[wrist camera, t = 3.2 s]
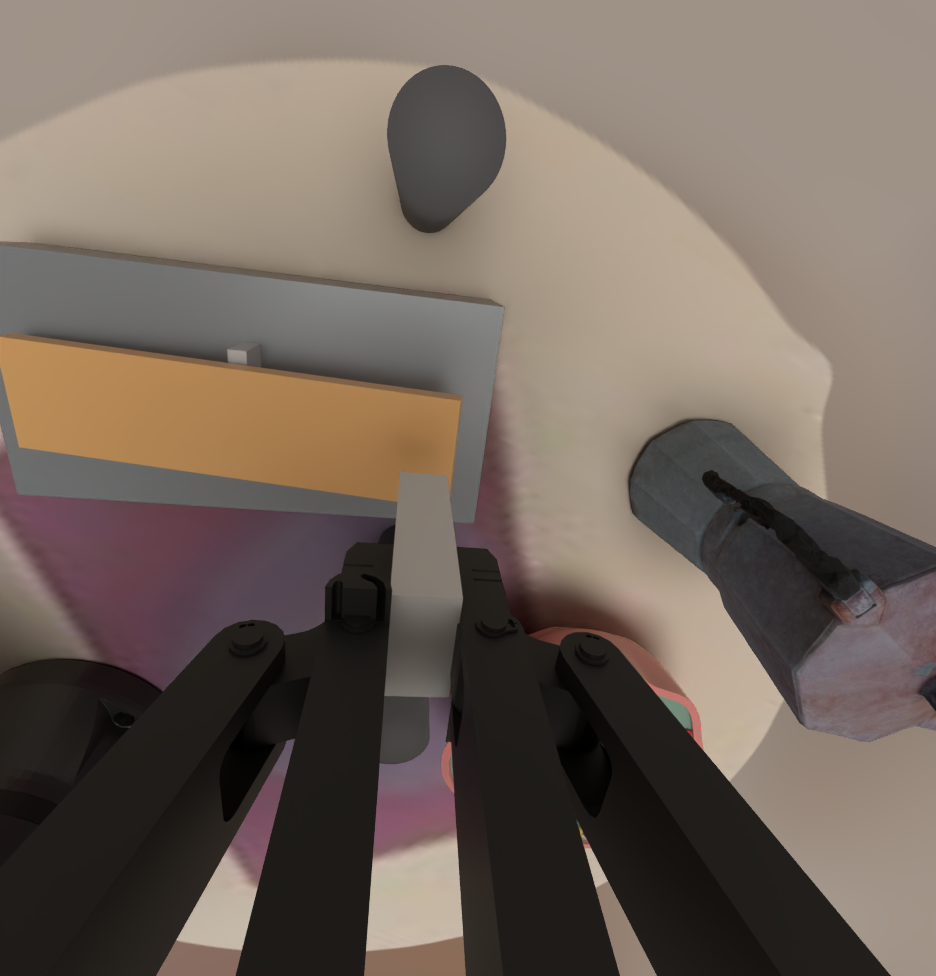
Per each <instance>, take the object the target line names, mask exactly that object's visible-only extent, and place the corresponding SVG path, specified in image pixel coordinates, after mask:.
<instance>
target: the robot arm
mask: <svg viewBox="0 0 936 976" xmlns="http://www.w3.org/2000/svg"><path fill="white" fill-rule="evenodd" d="M450 686H451V691H452V702H451V709H450V716H449V723H448V730H447V736H446V742H451V750H452V765H453V781H454V796H455V812H456V828H457V843H458V859H459V874H460V890H461V906H462V921H463V937H464V952H465V968H466V976H620V975H619V971H618V968H617V964H616V960H615V957H614V953H613V949H612V946H611V942H610V939H609V935H608V932H607V928H606V925H605V921H604V917H603V913H602V910H601V906H600V903H599V899H598V895H597V892H596V888H595V885H594V881H593V877H592V874H591V870H590V867H589V863H588V859H587V856H586V852H585V849H584V845H583V841H582V838H581V834H580V831H579V827H578V823H579V825H580V827H581V829H582V831H583V833H584V835H585V837H586V839H587V841H588V843H589V845H590V847H591V849H592V851H593V852H594V854H595V856H596V858H597V860H598V862H599V864H600V866H601V868H602V870H603V872H604V874H605V876H606V878H607V880H608V882H609V883H610V885H611V887H612V889H613V891H614V893H615V895H616V897H617V899H618V901H619V903H620V905H621V907H622V909H623V910H624V912H625V914H626V916H627V918H628V920H629V922H630V924H631V926H632V928H633V930H634V932H635V934H636V936H637V937H638V940H639V942H640V944H641V945H642V947H643V949H644V951H645V953H646V955H647V957H648V959H649V961H650V963H651V965H652V967H653V969H654V971H655V973H656V974H657V976H891V975H890V974H889V973H888V972H887V971H886V970H885V968H884V967H883V966H882V965H881V964H880V962H879V961H878V960H877V959H876V957H875V956H874V955H873V954H872V953H871V951H870V950H869V949H868V948H867V947H866V945H865V944H864V943H863V942H862V941H861V940H860V939H859V937H858V936H857V935H856V933H855V932H854V931H853V930H852V929H851V927H850V926H849V925H848V924H847V923H846V922H845V920H844V919H843V918H842V917H841V915H840V914H839V913H838V912H837V911H836V909H835V908H834V907H833V906H832V905H831V903H830V902H829V901H828V900H827V899H826V897H825V896H824V895H823V894H822V893H821V891H820V890H819V889H818V888H817V887H816V885H815V884H814V883H813V882H812V880H811V879H810V878H809V877H808V876H807V874H806V873H805V872H804V871H803V870H802V868H801V867H800V866H799V865H798V864H797V862H796V861H795V860H794V859H793V858H792V856H791V855H790V854H789V853H788V852H787V851H786V849H785V848H784V847H783V846H782V845H781V843H780V842H779V841H778V840H777V838H776V837H775V836H774V835H773V834H772V832H771V831H770V830H769V829H768V828H767V826H766V825H765V824H764V823H763V822H762V821H761V819H760V818H759V817H758V816H757V814H756V813H755V812H754V811H753V810H752V808H751V807H750V806H749V805H748V804H747V802H746V801H745V800H744V799H743V798H742V797H741V795H740V794H739V793H738V792H737V790H736V789H735V788H734V787H733V786H732V784H731V783H730V782H729V781H728V780H727V778H726V777H725V776H724V775H723V774H722V772H721V771H720V770H719V769H718V768H717V766H716V765H715V764H714V763H713V762H712V760H711V759H710V758H709V757H708V756H707V754H706V753H705V752H704V751H703V750H702V748H701V747H700V746H699V745H698V743H697V742H696V741H695V740H694V739H693V737H692V736H691V735H690V734H689V733H688V731H687V730H686V729H685V728H684V727H683V725H682V724H681V723H680V722H679V721H678V719H677V718H676V717H675V716H674V715H673V713H672V712H671V711H670V710H669V709H668V707H667V706H666V705H665V704H664V703H663V701H662V700H661V699H660V698H659V697H658V695H657V694H656V693H655V692H654V691H653V689H652V688H651V687H650V686H649V685H648V683H647V682H646V681H645V680H644V679H643V677H642V676H641V675H640V674H639V673H638V671H637V670H636V669H635V668H634V667H633V665H632V664H631V663H630V662H629V661H628V659H627V658H626V657H625V656H624V655H623V653H622V652H621V651H620V650H619V649H618V648H617V647H616V646H615V645H614V644H613V643H612V642H611V641H609V640H607V639H605V638H603V637H601V636H600V635H596V634H593V633H589V632H574V633H571V634H568V635H566V636H565V637H564V638H563V639H562V640H561V643H560V645H556V644H552V643H549V642H545V641H542V640H539V639H536V638H533V637H531V636H529V635H528V634H526V633H524V629H523V627H522V625H521V623H520V621H519V620H518V619H516V618H515V617H514V616H513V615H512V614H511V613H510V610H509V606H508V602H507V598H506V594H505V590H504V586H503V583H502V579H501V575H500V573H499V567H498V563H497V559H496V558H495V557H494V556H493V555H492V554H491V553H490V552H489V551H488V550H487V549H480V548H464V547H456V541H455V533H454V525H453V518H452V510H451V502H450V495H449V487H448V479H447V475H436V474H423V473H411V472H400V479H399V491H398V503H397V515H396V527H395V539H394V545H393V544H376V543H360V542H357V543H356V544H355V545H353V546H352V547H351V548H350V549H349V550H348V551H347V552H346V556H345V560H344V566H343V569H342V573H341V574H338V575H337V576H335V577H333V578H332V579H330V580H329V582H328V584H327V585H326V587H325V622H323V623H322V624H321V625H319V626H318V627H315V628H313V629H311V630H308V631H305V632H301V633H296V634H291V635H285V636H284V633H283V631H282V630H281V629H280V628H279V627H278V626H277V625H275V624H273V623H270V622H267V621H260V620H250V621H244V622H238V623H236V624H233V625H231V626H228V627H226V628H225V629H223V630H222V631H221V632H219V633H218V634H217V635H215V636H214V638H213V639H212V640H211V641H210V642H209V643H208V644H207V645H206V646H205V647H204V648H203V649H202V651H201V652H200V653H199V654H198V655H197V656H196V657H195V658H194V659H193V660H192V661H191V662H190V663H189V665H188V666H187V667H186V668H185V669H184V670H183V671H182V672H181V673H180V674H179V675H178V676H177V677H176V679H175V680H174V681H173V682H172V683H171V684H170V685H169V686H168V687H167V688H166V689H165V690H164V691H163V693H162V694H161V693H160V692H159V691H158V690H156V689H155V688H154V687H152V686H151V685H149V684H147V683H146V682H144V681H142V680H141V679H139V678H137V677H135V676H133V675H130V674H128V673H126V672H123V671H121V670H118V669H115V668H112V667H109V666H105V665H101V664H96V663H91V662H85V661H76V660H48V661H40V662H34V663H29V664H25V665H22V666H19V667H16V668H13V669H11V670H9V671H6V672H4V673H3V674H1V675H0V976H156V975H157V973H158V971H159V969H160V968H161V966H162V964H163V962H164V961H165V959H166V957H167V955H168V953H169V952H170V950H171V948H172V946H173V945H174V943H175V941H176V939H177V938H178V936H179V934H180V932H181V930H182V929H183V927H184V925H185V923H186V922H187V920H188V918H189V916H190V914H191V913H192V911H193V909H194V907H195V906H196V904H197V902H198V900H199V898H200V897H201V895H202V893H203V891H204V890H205V888H206V886H207V884H208V882H209V881H210V879H211V877H212V875H213V874H214V872H215V870H216V868H217V866H218V865H219V863H220V861H221V859H222V858H223V856H224V854H225V852H226V850H227V849H228V847H229V845H230V843H231V842H232V840H233V838H234V836H235V835H236V833H237V831H238V829H239V827H240V826H241V824H242V822H243V820H244V819H245V817H246V815H247V813H248V811H249V810H250V808H251V806H252V804H253V803H254V801H255V799H256V797H257V795H258V794H259V792H260V790H261V788H262V787H263V785H264V783H265V781H266V779H267V778H268V776H269V774H270V772H271V771H272V769H273V767H274V765H275V763H276V762H277V760H278V758H279V756H280V755H281V753H282V751H283V749H284V747H285V744H286V741H287V740H291V739H295V742H294V746H293V750H292V754H291V758H290V762H289V766H288V769H287V773H286V777H285V781H284V785H283V789H282V793H281V797H280V801H279V805H278V809H277V813H276V817H275V821H274V825H273V829H272V833H271V837H270V841H269V845H268V849H267V853H266V857H265V861H264V865H263V869H262V873H261V877H260V881H259V885H258V889H257V893H256V897H255V901H254V905H253V909H252V913H251V917H250V921H249V925H248V929H247V933H246V937H245V941H244V945H243V949H242V953H241V957H240V961H239V965H238V969H237V973H236V976H364V969H365V955H366V941H367V928H368V914H369V900H370V887H371V873H372V859H373V846H374V832H375V818H376V805H377V791H378V777H379V764H380V750H381V736H382V723H383V709H384V696H406V697H449V693H450ZM576 819H577V820H576ZM577 821H578V823H577Z"/></svg>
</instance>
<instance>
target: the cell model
mask: <svg viewBox="0 0 936 976" xmlns="http://www.w3.org/2000/svg"><path fill="white" fill-rule="evenodd" d="M574 632H589V633H593V634H596V635H600V636H601V637H603V638H605V639H607V640H609V641H611V642H612V643H613V644H614V645H615V646H616V647H617V648H618V649H619V650H620V651H621V652H622V653H623V655H624V656H625V657H626V658H627V659H628V661H629V662H630V663H631V664H632V665H633V667H634V668H635V669H636V670H637V671H638V673H639V674H640V675H641V676H642V677H643V679H644V680H645V681H646V682H647V683H648V685H649V686H650V687H651V688H652V689H653V691H654V692H655V693H656V694H657V695H658V697H659V698H660V699H661V700H662V701H663V703H664V704H665V705H666V706H667V707H668V709H669V710H670V711H671V712H672V713H673V715H674V716H675V717H676V718H677V719H678V721H679V722H680V723H681V724H682V725H683V727H684V728H685V729H686V730H687V731H688V733H689V734H690V735H691V736H692V737H693V739H694V740H695V741H696V742H697V743H698V745H699V746H700V747H701V748H702V750H703V744H702V736H701V723H700V718H699V714H698V712H697V710H696V707H695V706H694V704H693V703H692V702H691V700H690V699H689V698H688V697H687V696H686V694H685V693H684V692H683V690H682V689H681V688H680V686H679V685H678V684H677V682H676V681H675V680H674V678H673V677H672V676H671V675H670V673H669V672H668V671H667V670H666V669H665V668H664V667H663V666H662V665H661V664H660V663H659V662H658V661H657V660H656V659H655V658H654V657H653V656H652V655H651V654H650V653H648V652H647V651H646V650H645V649H644V648H642V647H641V646H640V645H639V644H637V643H636V642H634V641H632V640H630V639H628V638H626V637H623V636H620V635H616V634H612V633H608V632H604V631H600V630H593V629H582V628H571V627H550V628H545V629H542V630H539V631H536V632H533V633H530V634H528V635H529V636H531V637H533V638H536V639H539V640H542V641H545V642H549V643H552V644H556V645H560V643H561V640H562V639H563V638H564V637H565V636H566V635H568V634H571V633H574ZM441 770H442V775H443V778H444V780H445V782H446V784H447V786H448V787H449V788H450V789H451V791H452V792H453V793H454V781H453V765H452V750H451V742H447V744H446V746H445V749H444V751H443V755H442V758H441ZM576 820H577V819H576ZM577 823H578V821H577ZM578 827H579V831H580V834H581V838H582V841H583V845H584V848H591V847H590V845H589V843H588V841H587V839H586V837H585V835H584V833H583V831H582V829H581V827H580V825H579V823H578Z"/></svg>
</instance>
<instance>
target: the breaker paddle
mask: <svg viewBox="0 0 936 976" xmlns="http://www.w3.org/2000/svg"><path fill="white" fill-rule="evenodd" d="M0 368H1V372H2V376H3V381H4V385H5V389H6V393H7V398H8V402H9V406H10V410H11V415H12V419H13V423H14V428H15V432H16V436H17V440H18V445H19V447H21V448H28V449H35V450H42V451H49V452H55V453H62V454H69V455H76V456H83V457H90V458H97V459H104V460H111V461H118V462H125V463H132V464H139V465H146V466H153V467H160V468H166V469H173V470H180V471H187V472H194V473H201V474H208V475H215V476H222V477H229V478H236V479H243V480H250V481H257V482H264V483H271V484H277V485H284V486H291V487H298V488H305V489H312V490H319V491H326V492H333V493H340V494H347V495H354V496H361V497H368V498H375V499H382V500H388V501H395V502H398V491H399V479H400V472H411V473H423V474H436V475H447V479H448V487H449V495H450V498H451V490H452V481H453V473H454V465H455V456H456V448H457V439H458V431H459V423H460V414H461V406H462V397H463V396H462V395H455V394H448V393H441V392H434V391H426V390H419V389H412V388H405V387H397V386H390V385H383V384H376V383H369V382H361V381H354V380H347V379H340V378H333V377H325V376H318V375H311V374H304V373H297V372H289V371H282V370H275V369H268V368H261V367H253V366H246V365H239V364H232V363H225V362H217V361H210V360H203V359H196V358H189V357H181V356H174V355H167V354H160V353H152V352H145V351H138V350H131V349H124V348H116V347H109V346H102V345H95V344H88V343H80V342H73V341H66V340H59V339H52V338H44V337H37V336H30V335H23V334H16V333H12V334H4V335H0Z"/></svg>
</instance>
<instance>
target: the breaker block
mask: <svg viewBox="0 0 936 976" xmlns="http://www.w3.org/2000/svg"><path fill="white" fill-rule="evenodd" d="M504 309H505V307H504V306H502V305H500V304H498V303H496V302H494V301H492V300H490V299H481V298H473V297H465V296H457V295H449V294H441V293H433V292H425V291H417V290H409V289H401V288H393V287H385V286H377V285H369V284H361V283H353V282H345V281H337V280H329V279H321V278H312V277H304V276H296V275H288V274H280V273H272V272H264V271H256V270H248V269H240V268H232V267H224V266H216V265H208V264H200V263H192V262H184V261H176V260H168V259H160V258H151V257H143V256H135V255H127V254H119V253H111V252H103V251H95V250H87V249H79V248H71V247H63V246H55V245H47V244H39V243H25V242H0V335H4V334H12V333H16V334H23V335H30V336H37V337H44V338H52V339H59V340H66V341H73V342H80V343H88V344H95V345H102V346H109V347H116V348H124V349H131V350H138V351H145V352H152V353H160V354H167V355H174V356H181V357H189V358H196V359H203V360H210V361H217V362H225V363H232V364H239V365H246V366H253V367H261V368H268V369H275V370H282V371H289V372H297V373H304V374H311V375H318V376H325V377H333V378H340V379H347V380H354V381H361V382H369V383H376V384H383V385H390V386H397V387H405V388H412V389H419V390H426V391H434V392H441V393H448V394H455V395H462V396H463V397H462V406H461V414H460V423H459V431H458V439H457V448H456V456H455V465H454V473H453V481H452V490H451V498H450V502H451V510H452V518H453V522H458V523H474V520H475V513H476V506H477V499H478V492H479V485H480V478H481V471H482V464H483V457H484V450H485V442H486V435H487V428H488V421H489V414H490V407H491V400H492V393H493V386H494V379H495V372H496V365H497V358H498V351H499V344H500V337H501V330H502V323H503V316H504ZM0 425H1V429H2V433H3V437H4V441H5V445H6V450H7V454H8V458H9V462H10V466H11V470H12V474H13V478H14V482H15V486H16V490H17V494H20V495H35V496H51V497H67V498H82V499H98V500H114V501H129V502H145V503H161V504H176V505H192V506H208V507H223V508H239V509H255V510H270V511H286V512H302V513H317V514H333V515H349V516H364V517H380V518H396V515H397V503H398V502H395V501H388V500H382V499H375V498H368V497H361V496H354V495H347V494H340V493H333V492H326V491H319V490H312V489H305V488H298V487H291V486H284V485H277V484H271V483H264V482H257V481H250V480H243V479H236V478H229V477H222V476H215V475H208V474H201V473H194V472H187V471H180V470H173V469H166V468H160V467H153V466H146V465H139V464H132V463H125V462H118V461H111V460H104V459H97V458H90V457H83V456H76V455H69V454H62V453H55V452H49V451H42V450H35V449H28V448H21V447H19V445H18V440H17V436H16V432H15V428H14V423H13V419H12V415H11V410H10V406H9V402H8V398H7V393H6V389H5V385H4V381H3V376H2V372H1V368H0Z"/></svg>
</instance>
